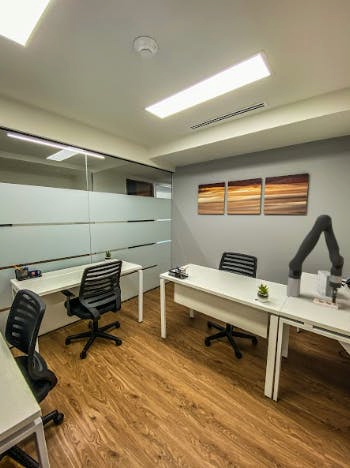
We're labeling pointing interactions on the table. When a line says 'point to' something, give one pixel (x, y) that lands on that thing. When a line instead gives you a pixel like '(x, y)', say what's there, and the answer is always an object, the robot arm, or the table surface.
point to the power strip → (325, 304)
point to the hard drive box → (324, 284)
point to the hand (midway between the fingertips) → (333, 300)
